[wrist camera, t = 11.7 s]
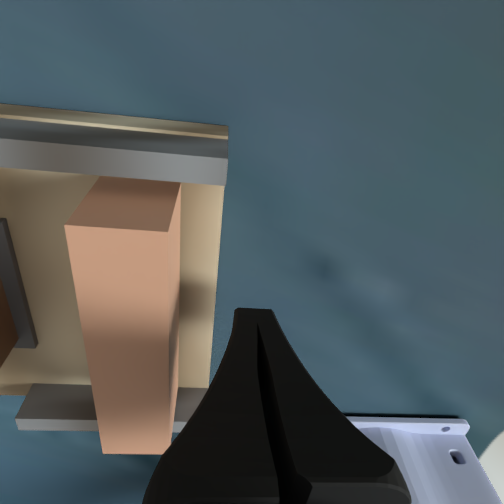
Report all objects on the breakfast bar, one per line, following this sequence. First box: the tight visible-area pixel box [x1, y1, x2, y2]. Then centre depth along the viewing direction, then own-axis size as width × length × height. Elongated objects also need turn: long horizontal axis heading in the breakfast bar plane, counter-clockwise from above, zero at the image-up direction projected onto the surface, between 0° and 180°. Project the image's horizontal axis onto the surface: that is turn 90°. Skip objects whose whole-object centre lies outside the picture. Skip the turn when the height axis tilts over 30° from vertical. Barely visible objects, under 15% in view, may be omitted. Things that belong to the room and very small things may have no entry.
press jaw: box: [64, 176, 181, 454], centre depth 14 cm, size 2×10×3 cm, turn 174°
